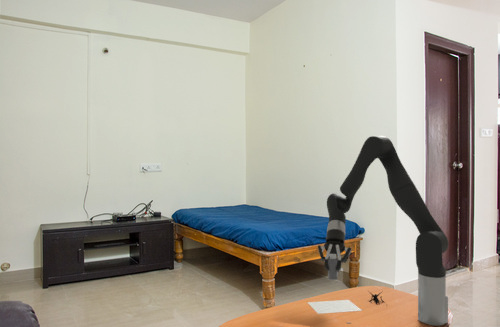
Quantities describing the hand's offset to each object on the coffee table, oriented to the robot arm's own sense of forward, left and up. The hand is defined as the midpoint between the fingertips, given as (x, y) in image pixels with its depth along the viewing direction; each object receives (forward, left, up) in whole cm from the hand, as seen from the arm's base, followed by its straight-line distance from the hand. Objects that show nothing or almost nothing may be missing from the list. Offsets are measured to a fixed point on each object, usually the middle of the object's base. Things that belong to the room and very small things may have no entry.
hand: (332, 269), depth 149 cm
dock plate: (-2, -3, -17) cm, 17 cm away
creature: (-21, -4, -17) cm, 28 cm away
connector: (-1, -2, -4) cm, 4 cm away
